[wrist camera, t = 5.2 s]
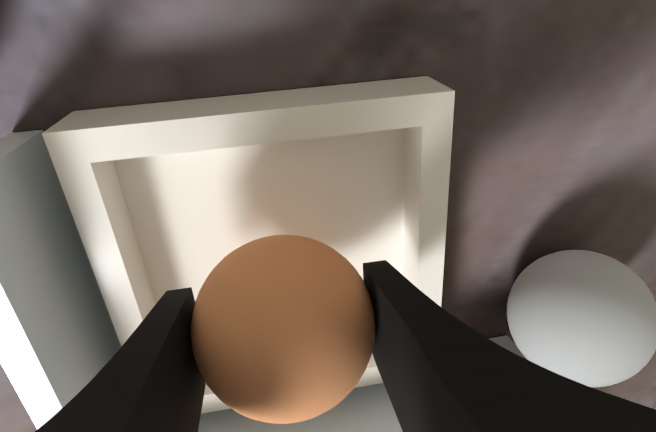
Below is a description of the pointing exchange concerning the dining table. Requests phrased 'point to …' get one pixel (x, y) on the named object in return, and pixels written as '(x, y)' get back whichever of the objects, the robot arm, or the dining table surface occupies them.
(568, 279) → the grey ball
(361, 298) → the terracotta ball
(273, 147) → the ceramic dish
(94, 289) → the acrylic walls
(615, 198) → the dining table surface
